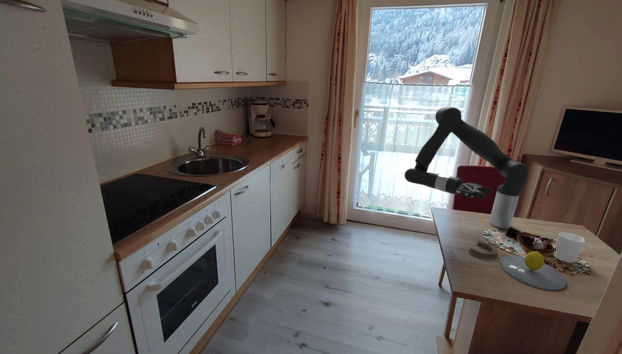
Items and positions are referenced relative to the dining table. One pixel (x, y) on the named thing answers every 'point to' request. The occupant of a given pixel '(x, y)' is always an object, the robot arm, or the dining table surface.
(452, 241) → the dining table surface
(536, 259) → the lemon
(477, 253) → the lemon holder
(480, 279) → the dining table surface
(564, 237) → the white cup
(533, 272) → the plate
